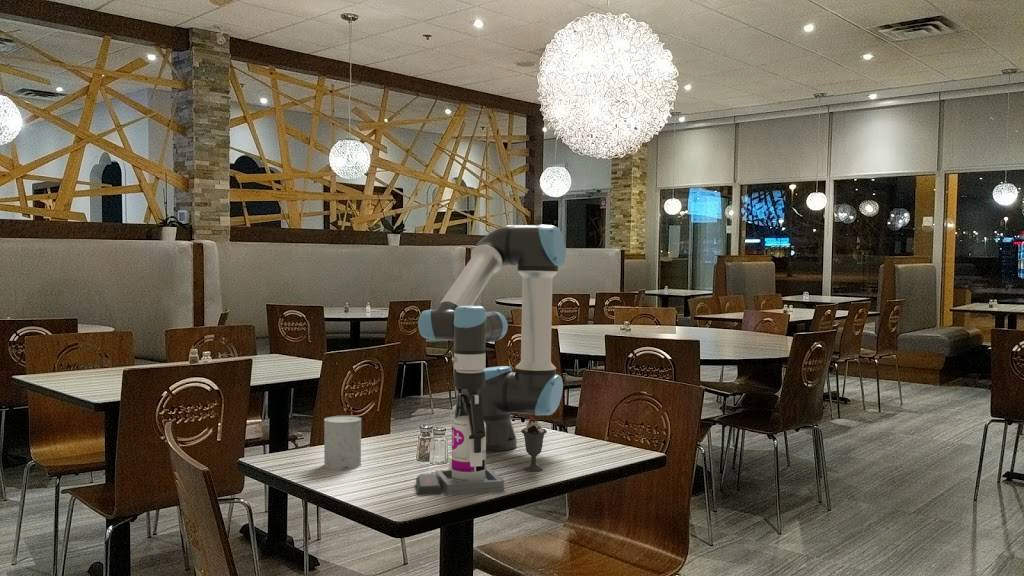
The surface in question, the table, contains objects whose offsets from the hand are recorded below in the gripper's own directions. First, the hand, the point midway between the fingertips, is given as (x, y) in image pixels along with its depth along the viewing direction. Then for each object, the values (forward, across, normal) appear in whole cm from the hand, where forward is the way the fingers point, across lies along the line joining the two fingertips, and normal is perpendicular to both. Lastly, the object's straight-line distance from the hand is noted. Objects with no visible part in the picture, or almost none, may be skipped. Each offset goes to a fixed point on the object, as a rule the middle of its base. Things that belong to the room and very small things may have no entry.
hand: (468, 459), depth 195 cm
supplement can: (+5, 0, 0) cm, 5 cm away
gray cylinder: (+7, -28, -27) cm, 39 cm away
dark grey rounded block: (+7, -1, -10) cm, 12 cm away
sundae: (+7, -10, +20) cm, 24 cm away
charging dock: (+6, -2, 0) cm, 7 cm away
